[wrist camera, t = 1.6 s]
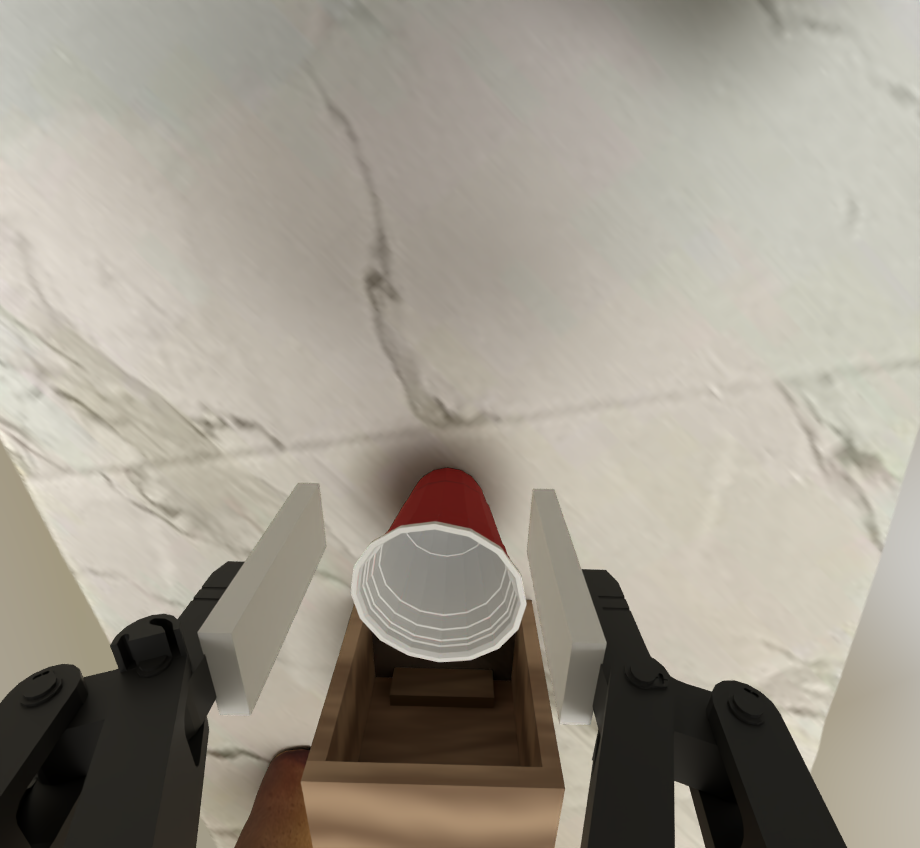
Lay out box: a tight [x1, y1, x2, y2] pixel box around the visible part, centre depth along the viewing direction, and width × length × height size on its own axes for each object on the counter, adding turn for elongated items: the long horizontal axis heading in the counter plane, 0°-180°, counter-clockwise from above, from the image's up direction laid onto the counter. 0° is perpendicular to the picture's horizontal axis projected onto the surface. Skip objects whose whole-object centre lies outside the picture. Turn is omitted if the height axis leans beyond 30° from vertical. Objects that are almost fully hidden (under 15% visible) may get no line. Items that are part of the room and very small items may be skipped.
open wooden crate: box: [301, 600, 565, 848], centre depth 38 cm, size 12×16×16 cm
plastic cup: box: [351, 468, 527, 662], centre depth 33 cm, size 11×11×12 cm
